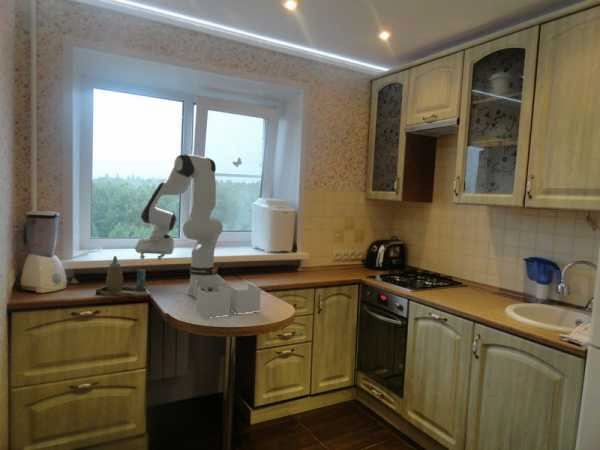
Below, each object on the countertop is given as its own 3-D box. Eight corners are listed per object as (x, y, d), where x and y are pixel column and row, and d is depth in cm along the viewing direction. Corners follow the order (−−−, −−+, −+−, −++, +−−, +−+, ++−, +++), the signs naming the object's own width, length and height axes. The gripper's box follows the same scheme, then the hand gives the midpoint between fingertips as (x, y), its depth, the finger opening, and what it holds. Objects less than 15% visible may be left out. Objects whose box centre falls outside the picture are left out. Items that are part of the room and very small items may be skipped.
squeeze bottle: (126, 291, 201) (127, 256, 200) (113, 294, 194) (114, 258, 193) (115, 289, 204) (116, 254, 203) (101, 292, 197) (102, 256, 196)
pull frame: (146, 289, 207) (147, 269, 206) (133, 296, 192) (133, 275, 191) (112, 287, 208) (112, 267, 207) (95, 294, 192) (96, 272, 192)
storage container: (204, 319, 162) (205, 293, 162) (196, 312, 172) (197, 287, 171) (259, 313, 176) (260, 288, 175) (249, 306, 185) (250, 283, 184)
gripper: (138, 234, 223) (129, 254, 213) (174, 236, 222) (167, 256, 213) (141, 241, 227) (133, 261, 218) (176, 243, 227) (170, 263, 217)
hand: (150, 258), depth 215 cm, fingers open, 8 cm apart
